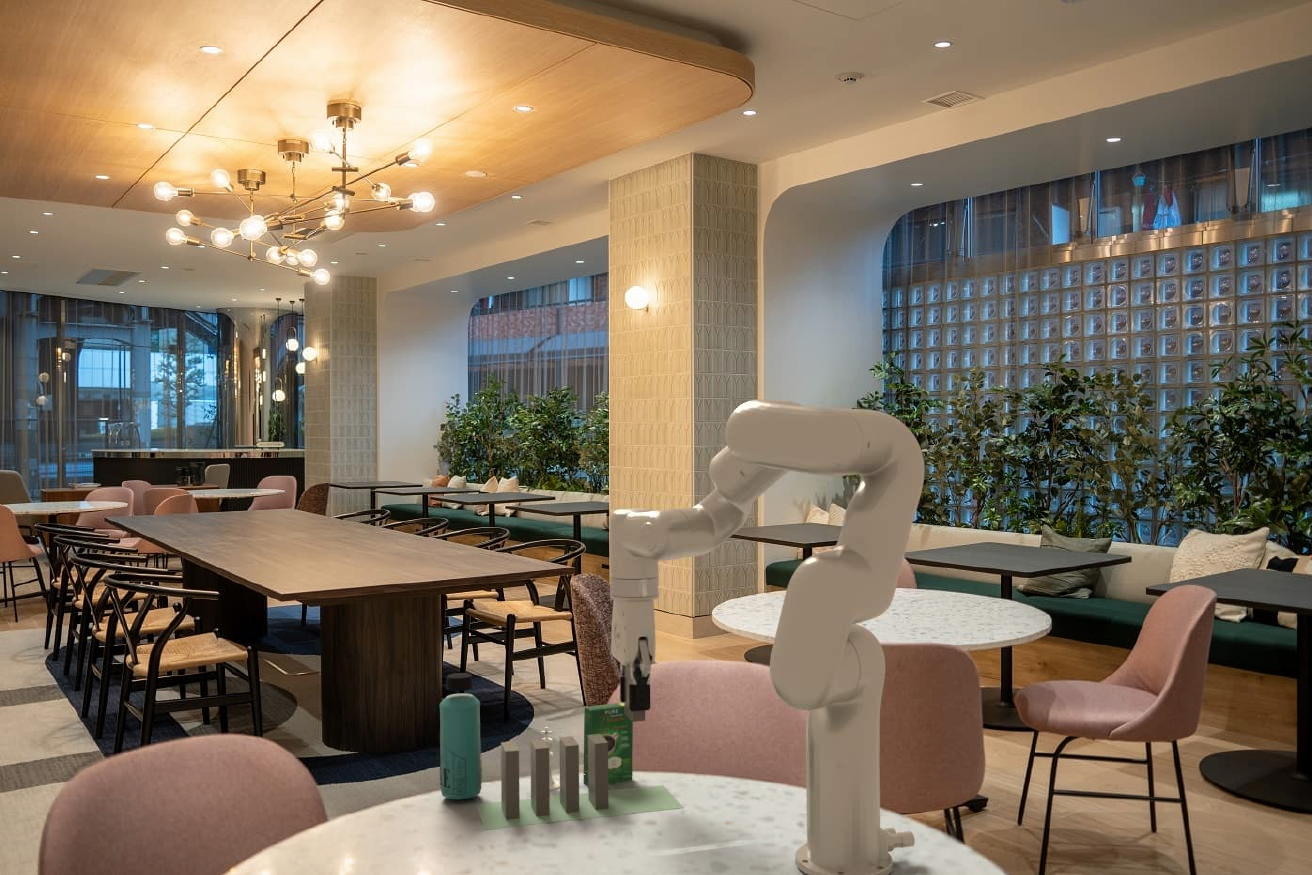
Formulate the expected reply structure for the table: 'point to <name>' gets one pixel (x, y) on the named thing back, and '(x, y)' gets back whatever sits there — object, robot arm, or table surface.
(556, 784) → the chess piece
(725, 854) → the table surface
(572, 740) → the domino
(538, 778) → the domino
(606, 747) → the domino
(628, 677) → the domino
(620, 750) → the coffee box
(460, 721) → the beverage bottle
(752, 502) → the robot arm
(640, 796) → the mat
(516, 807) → the domino
